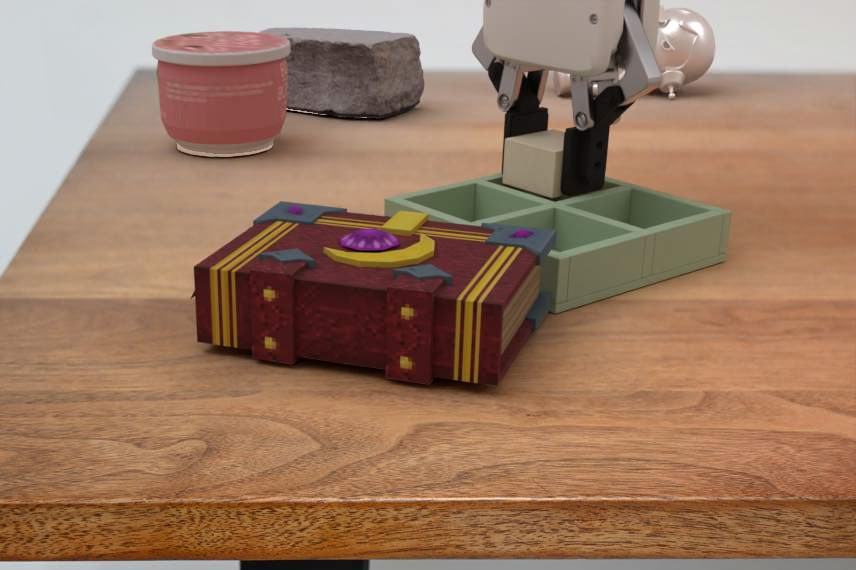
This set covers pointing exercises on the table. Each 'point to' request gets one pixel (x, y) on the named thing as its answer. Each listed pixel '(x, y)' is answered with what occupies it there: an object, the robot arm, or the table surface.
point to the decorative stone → (352, 71)
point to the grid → (589, 232)
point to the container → (222, 89)
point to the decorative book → (376, 292)
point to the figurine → (671, 51)
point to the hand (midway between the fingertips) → (551, 179)
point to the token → (535, 162)
